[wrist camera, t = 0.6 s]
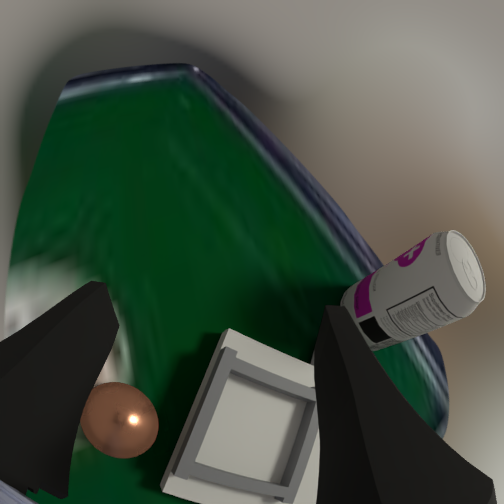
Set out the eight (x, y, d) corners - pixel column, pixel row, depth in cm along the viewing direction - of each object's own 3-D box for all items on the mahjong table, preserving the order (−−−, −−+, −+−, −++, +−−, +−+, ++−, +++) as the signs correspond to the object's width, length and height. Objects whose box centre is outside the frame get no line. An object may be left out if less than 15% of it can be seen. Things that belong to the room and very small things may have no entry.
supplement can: (325, 294, 33) (429, 226, 21) (371, 281, 37) (463, 222, 25) (351, 362, 30) (469, 321, 18) (394, 339, 34) (495, 295, 22)
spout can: (139, 454, 19) (142, 471, 14) (65, 416, 18) (47, 421, 13) (161, 402, 22) (171, 404, 17) (89, 364, 21) (78, 354, 16)
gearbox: (302, 516, 20) (322, 525, 17) (159, 484, 18) (165, 497, 15) (350, 350, 31) (372, 343, 28) (237, 296, 29) (251, 282, 26)
